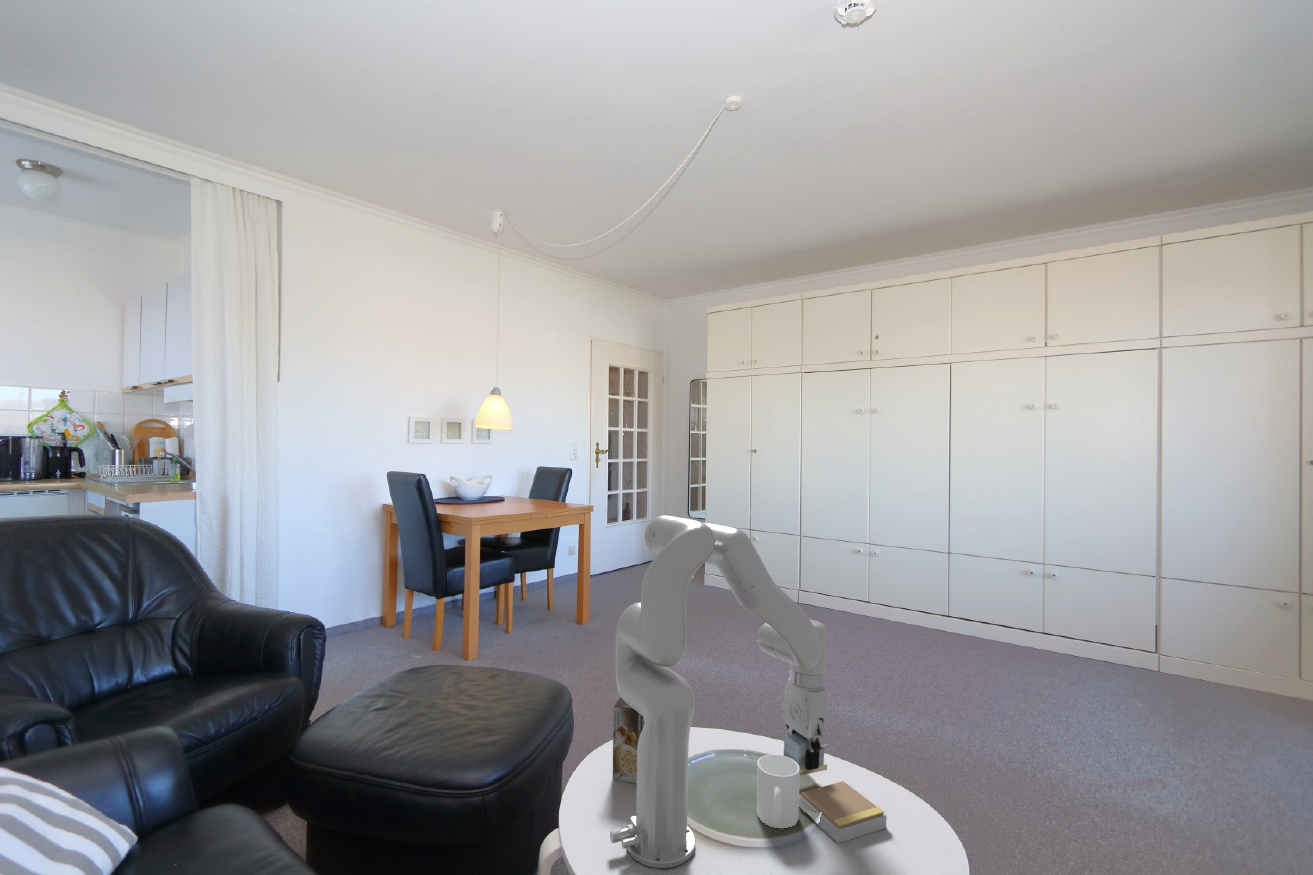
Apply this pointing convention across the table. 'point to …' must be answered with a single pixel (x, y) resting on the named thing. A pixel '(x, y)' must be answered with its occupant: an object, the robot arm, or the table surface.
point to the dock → (843, 811)
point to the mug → (778, 791)
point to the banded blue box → (801, 752)
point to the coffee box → (625, 741)
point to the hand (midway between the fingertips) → (803, 760)
